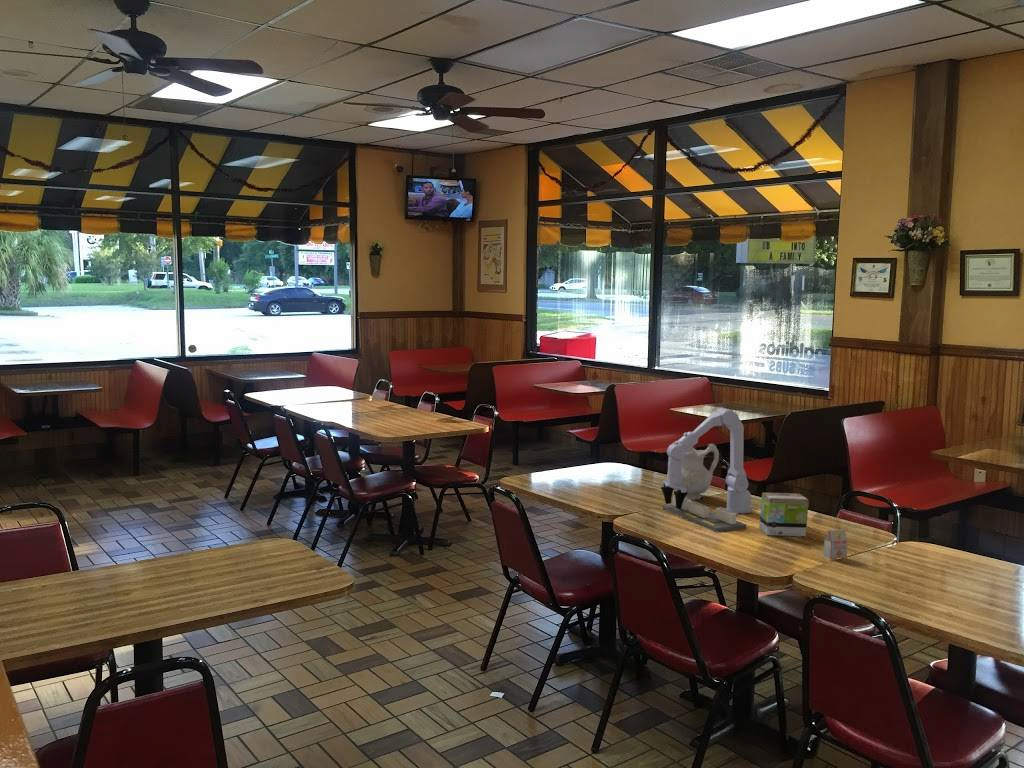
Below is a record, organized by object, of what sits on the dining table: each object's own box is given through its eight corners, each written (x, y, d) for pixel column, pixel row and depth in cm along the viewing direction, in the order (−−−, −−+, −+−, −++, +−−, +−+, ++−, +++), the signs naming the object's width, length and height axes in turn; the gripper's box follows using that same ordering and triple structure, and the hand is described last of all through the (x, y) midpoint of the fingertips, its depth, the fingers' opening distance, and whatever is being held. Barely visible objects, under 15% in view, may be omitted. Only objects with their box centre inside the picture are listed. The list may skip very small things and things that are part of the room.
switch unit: (691, 506, 367) (691, 502, 367) (746, 528, 334) (746, 523, 334) (662, 508, 361) (662, 504, 361) (715, 531, 328) (715, 527, 328)
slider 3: (720, 517, 343) (720, 506, 342) (736, 523, 334) (736, 512, 333) (715, 517, 342) (715, 506, 341) (731, 524, 333) (731, 512, 332)
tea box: (767, 536, 324) (769, 498, 322) (758, 529, 334) (761, 491, 332) (806, 537, 324) (809, 498, 323) (797, 529, 334) (799, 492, 333)
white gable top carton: (823, 557, 300) (825, 529, 299) (839, 555, 302) (841, 528, 301) (830, 560, 297) (831, 532, 296) (846, 559, 299) (848, 530, 298)
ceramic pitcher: (709, 495, 392) (710, 440, 392) (722, 502, 373) (723, 445, 372) (662, 494, 391) (663, 440, 390) (673, 502, 372) (674, 444, 371)
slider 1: (677, 504, 362) (677, 493, 361) (691, 510, 353) (691, 499, 352) (672, 504, 361) (672, 494, 360) (686, 510, 352) (687, 499, 351)
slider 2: (693, 511, 351) (694, 500, 351) (708, 517, 342) (709, 506, 342) (688, 511, 350) (689, 500, 350) (703, 517, 341) (704, 506, 341)
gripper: (656, 470, 358) (655, 502, 360) (676, 477, 345) (675, 510, 347) (670, 469, 361) (669, 501, 363) (691, 476, 348) (689, 509, 349)
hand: (673, 505), depth 355 cm, fingers open, 7 cm apart
